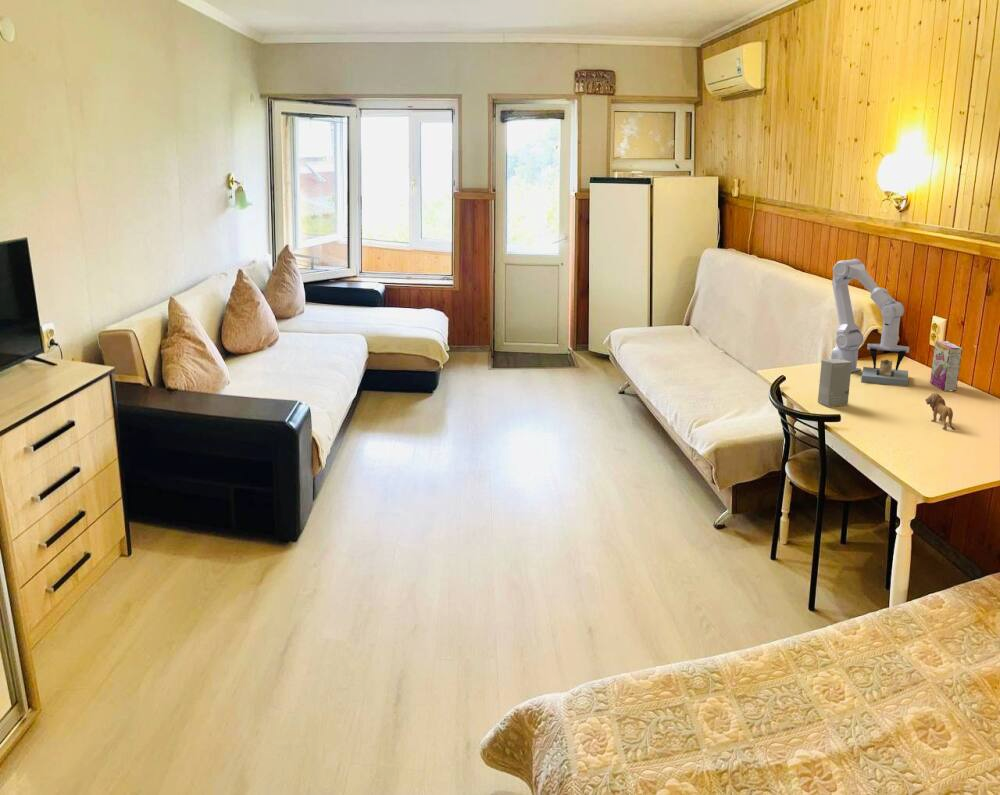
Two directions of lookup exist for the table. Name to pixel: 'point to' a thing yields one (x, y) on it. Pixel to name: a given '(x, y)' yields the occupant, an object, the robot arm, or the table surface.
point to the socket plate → (885, 377)
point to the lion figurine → (940, 409)
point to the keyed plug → (885, 368)
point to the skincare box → (834, 382)
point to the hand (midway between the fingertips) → (885, 368)
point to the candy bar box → (946, 365)
